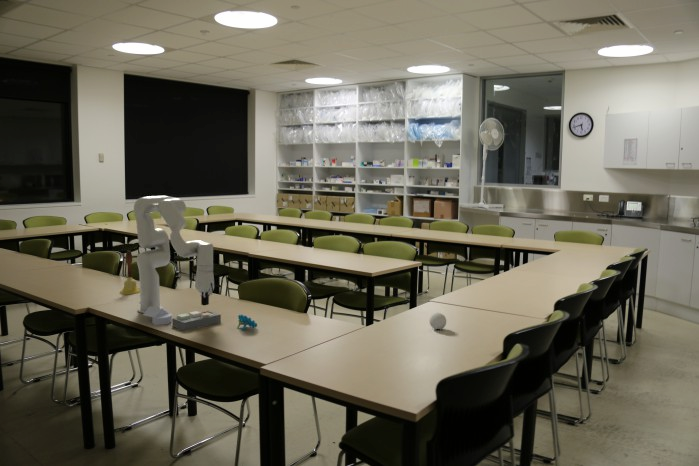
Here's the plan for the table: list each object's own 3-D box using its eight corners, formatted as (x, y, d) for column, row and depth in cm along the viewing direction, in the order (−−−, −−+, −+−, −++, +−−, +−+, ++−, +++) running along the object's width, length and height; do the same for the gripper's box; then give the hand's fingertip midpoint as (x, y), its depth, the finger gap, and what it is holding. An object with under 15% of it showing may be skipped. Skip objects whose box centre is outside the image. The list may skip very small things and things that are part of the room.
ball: (425, 329, 258) (426, 313, 257) (435, 325, 264) (435, 309, 263) (440, 333, 253) (440, 316, 252) (449, 329, 259) (450, 313, 258)
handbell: (114, 293, 321) (113, 252, 318) (126, 289, 333) (125, 248, 330) (134, 295, 319) (132, 252, 316) (145, 290, 331) (144, 249, 328)
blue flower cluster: (262, 325, 255) (248, 313, 250) (255, 336, 252) (241, 324, 247) (247, 324, 262) (234, 312, 257) (241, 334, 260) (227, 323, 254)
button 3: (200, 319, 267) (199, 313, 267) (207, 318, 270) (207, 312, 270) (205, 321, 264) (204, 315, 264) (212, 319, 267) (212, 313, 267)
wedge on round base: (142, 321, 265) (161, 325, 259) (142, 308, 264) (160, 312, 258) (157, 317, 273) (175, 321, 267) (157, 304, 272) (175, 308, 266)
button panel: (172, 326, 258) (172, 317, 257) (208, 318, 272) (208, 310, 272) (184, 331, 251) (184, 322, 250) (220, 322, 265) (220, 314, 265)
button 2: (188, 318, 262) (188, 312, 262) (196, 316, 265) (196, 311, 265) (193, 320, 259) (193, 314, 259) (201, 318, 262) (201, 312, 262)
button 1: (177, 321, 258) (176, 315, 257) (185, 319, 261) (185, 313, 260) (182, 323, 255) (181, 317, 254) (190, 321, 258) (190, 315, 258)
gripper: (189, 266, 266) (189, 302, 269) (207, 271, 256) (207, 309, 259) (203, 264, 272) (203, 300, 274) (220, 269, 262) (220, 306, 264)
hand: (205, 304), depth 267 cm, fingers closed
